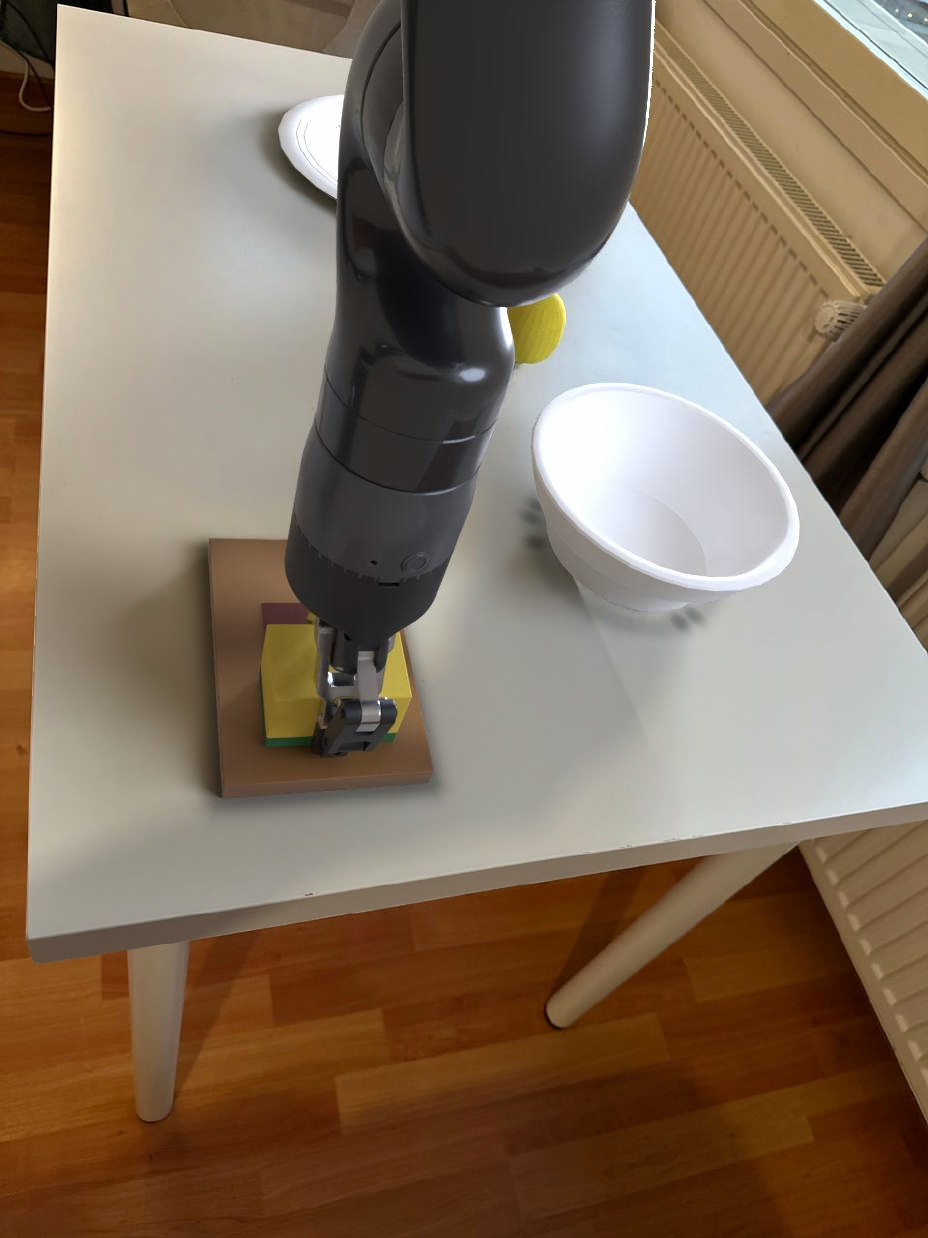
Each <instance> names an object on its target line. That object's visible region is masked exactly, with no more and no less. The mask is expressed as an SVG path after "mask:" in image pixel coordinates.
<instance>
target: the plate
mask: <svg viewBox="0 0 928 1238" xmlns="http://www.w3.org/2000/svg"><path fill="white" fill-rule="evenodd" d="M343 101H344V94H334V95H332V94H331V95H322V96H321V95H320V96H317V97H314V98H311V99H308V100H305V101H302V102H299V103H296V105H294V106H293V107H292V108H290V109H289V110H287V112H285V113H284V114H283V116H282V119H281V121H280V123H279V126H278V127H277V128H278V129H277V134H278V139H279V144H280V149H281V151H282V153H283V154H284V156H285V157H286V158H287V160H288V162H289V163H290V165H291V166H292V167H293V169H294V170H295V171H296V172H297V173H298V174H300V175H301V176H302V177H303V178H304V179H305V180H306V181H308V182H309V183H310V184H311V185H312V186H313V187H314V188H316V189H317V190H318V191H320V192H321V193H323V194H325V195H326V196H328V197H330V198H331V199H333V200H334V201H335V202H337V175H338V153H339V136H340V127H338V126H339V125H340V124H341V115H342V107H343ZM336 127H337V128H336Z"/></svg>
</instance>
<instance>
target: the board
mask: <svg viewBox="0 0 928 1238" xmlns="http://www.w3.org/2000/svg"><path fill="white" fill-rule="evenodd" d="M287 540H288V539H269V538H266V539H263V538H262V539H261V538H222V537H221V538H217V537H216V538H215V537H213V538H212V537H210V538H208V545H207V562H208V579H209V596H210V613H211V631H212V649H213V651H212V652H213V665H214V666H213V667H214V680H215V683H214V684H215V698H216V700H215V701H216V717H217V718H216V719H217V720H216V721H217V737H218V751H219V768H220V786H221V787H220V788H221V789H220V790H221V798H222V799H234V798H235V799H236V798H246V797H260V796H274V795H283V794H284V795H286V794H287V795H288V794H301V793H302V794H303V793H314V792H327V791H338V790H339V791H340V790H353V789H354V790H355V789H367V788H381V787H392V786H405V785H406V786H407V785H419V784H428V783H430V781H431V778H432V777H433V775H434V773H435V770H434V769H435V768H434V765H433V759H432V755H431V749H430V745H429V740H428V736H427V731H426V728H425V727H426V726H425V722H424V717H423V712H422V706H421V701H420V697H419V693H418V687H417V684H416V678H415V674H414V669H413V664H412V660H411V655H410V650H409V645H408V640H407V635H406V631H405V628H404V629H402V630H401V631H399V632H400V637H401V642H402V647H403V653H404V658H405V663H406V668H407V673H408V679H409V684H410V689H411V694H412V698H411V700H410V702H409V705H408V707H407V710H406V712H405V714H404V717H403V719H402V722H401V724H400V726H399V729H398V731H397V734H396V737H395V739H394V741H388V742H380V743H379V744H378V745H377V746H376V748H375V749H374V750H373V751H366V752H363V751H348V754H347V756H343V757H323V758H321V757H320V755H316V754H314V753H313V752H312V745H303V746H281V747H265V744H264V731H263V718H262V705H261V692H260V680H259V671H260V665H261V659H262V653H263V647H264V641H265V635H266V628H267V625H268V624H307V623H306V621H305V617H306V607H305V606H304V605H303V604H302V603H301V602H300V601H299V600H298V599H297V597H296V596H295V594H294V593H293V591H292V589H291V587H290V585H289V583H288V580H287V577H286V573H285V565H284V560H285V552H286V546H287Z"/></svg>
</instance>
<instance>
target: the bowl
mask: <svg viewBox="0 0 928 1238" xmlns="http://www.w3.org/2000/svg"><path fill="white" fill-rule="evenodd" d="M530 452H531V453H530V454H531V461H532V462H531V463H532V471H533V480H534V485H535V492H536V497H537V500H538V503H539V505H540V508H541V509H542V512H543V515H544V517H545V518H546V522H545V523H546V524H545V526H546V532H547V538H548V541H549V543H550V546H551V548H552V550H553V553H554V554H555V556H556V557H557V559H558V560H559V562H560V563H561V565H562V566H563V568H565V570H566V571H567V572H568V573H569V574H570V575H571V576H572V577H573V578H574V580H576V581H578V582H579V583H580V584H581V585H582V586H583V587H585V588H586V589H587V590H589V591H591V592H592V593H593V594H595V595H597V596H599V597H600V598H602V599H604V600H606V601H609V602H611V603H613V604H616V605H618V606H621V607H624V608H627V609H631V610H635V611H642V612H649V613H657V612H658V613H659V612H669V611H674V610H676V609H680V608H683V607H684V606H686V605H688V604H692V603H693V604H694V603H710V602H714V601H719V600H722V599H726V598H729V597H732V596H734V595H737V594H740V593H742V592H745V591H749V590H750V589H753V588H756V587H759V586H761V585H764V584H765V583H766V582H768V581H770V580H772V579H774V578H776V577H777V576H778V575H780V574H781V573H782V572H783V571H784V570H785V568H786V567H788V565H789V564H790V563H791V562H792V561H793V558H794V555H795V553H796V550H797V549H798V545H799V536H800V525H801V524H800V519H799V514H798V508H797V504H796V502H795V500H794V498H793V495H792V493H791V491H790V488H789V486H788V485H787V483H786V481H785V480H784V478H783V476H782V475H781V473H780V472H779V470H778V469H777V467H776V466H775V465H774V463H772V461H771V460H770V459H769V458H768V456H766V455H765V453H764V452H763V451H762V450H761V449H760V448H759V447H758V446H757V445H756V444H754V442H752V441H751V440H750V439H749V438H748V437H747V436H746V435H745V434H744V433H743V432H741V431H740V430H739V429H737V428H735V426H733V425H731V423H729V422H727V421H726V420H724V419H723V418H721V417H720V416H718V415H716V414H714V413H713V412H711V411H709V410H707V409H706V408H704V407H702V406H700V405H698V404H696V403H695V402H692V401H689V400H687V399H686V398H685V399H684V398H682V397H680V396H678V395H675V394H672V393H669V392H665V391H662V390H660V389H656V388H653V387H648V386H643V385H638V384H632V383H623V382H622V383H621V382H620V383H619V382H600V383H599V382H598V383H591V384H584V385H581V386H578V387H575V388H571V389H568V390H566V391H565V392H563V393H561V394H559V395H557V396H556V397H554V398H553V399H552V400H550V401H549V402H548V404H547V405H545V407H544V408H542V410H541V411H540V412H539V414H538V415H537V417H536V420H535V422H534V424H533V427H532V429H531V440H530Z"/></svg>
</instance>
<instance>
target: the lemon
mask: <svg viewBox="0 0 928 1238" xmlns="http://www.w3.org/2000/svg"><path fill="white" fill-rule="evenodd" d="M506 312H507V316H508V320H509V324H510V328H511V332H512V336H513V341H514V348H515V362H516V363H517V364H518V365H524V364H527V365H530V364H531V365H533V364H538V363H540V362H543V361H545V360H546V359H548V358H549V357H550V356H551V355H552V354H553V353H554V352H555V351H556V349H557V348H558V346H559V344H560V343H561V340H562V338H563V335H564V331H565V326H566V319H567V314H566V313H567V312H566V306H565V304H564V301H563V299H562V298H561V296H560V295H559V294H558V292H557V293H555V294H554V295H552V296H550V297H548V298H546V299H543V300H541V301H538V302H535V303H532V304H529V305H524V306H518V307H510V308H506Z"/></svg>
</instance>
